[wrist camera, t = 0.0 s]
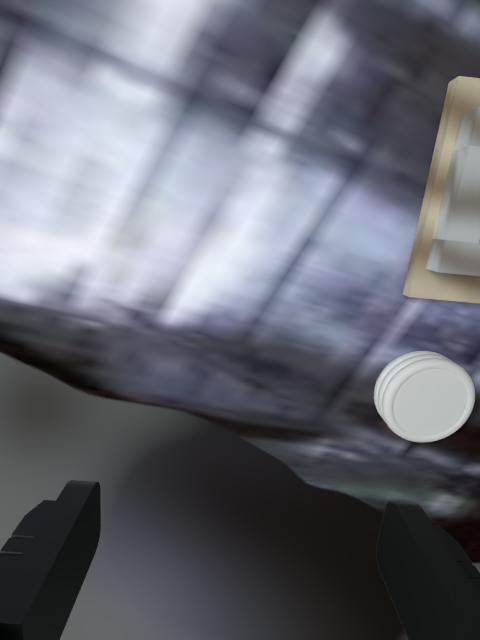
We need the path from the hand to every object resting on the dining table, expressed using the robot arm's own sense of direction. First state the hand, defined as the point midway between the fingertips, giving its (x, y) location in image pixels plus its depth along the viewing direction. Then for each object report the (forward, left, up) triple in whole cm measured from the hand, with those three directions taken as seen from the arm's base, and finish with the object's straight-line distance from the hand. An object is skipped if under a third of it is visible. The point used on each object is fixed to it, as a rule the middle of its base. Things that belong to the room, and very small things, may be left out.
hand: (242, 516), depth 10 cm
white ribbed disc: (+9, +22, -30) cm, 38 cm away
